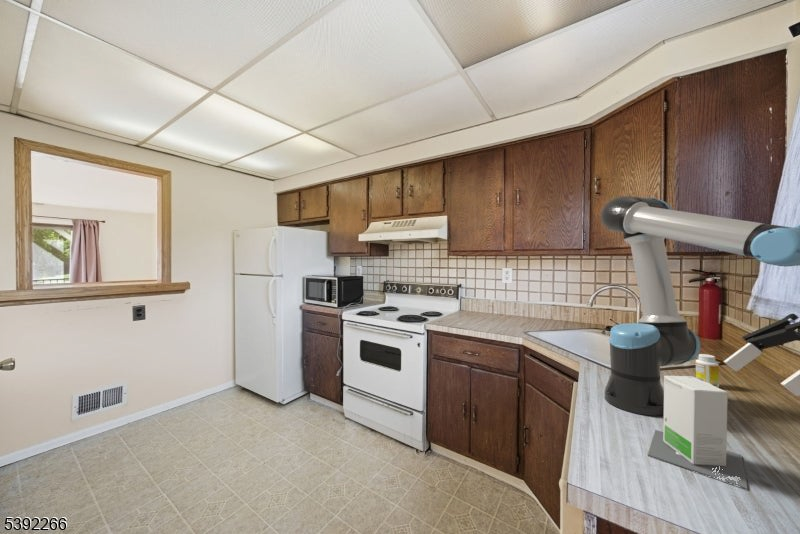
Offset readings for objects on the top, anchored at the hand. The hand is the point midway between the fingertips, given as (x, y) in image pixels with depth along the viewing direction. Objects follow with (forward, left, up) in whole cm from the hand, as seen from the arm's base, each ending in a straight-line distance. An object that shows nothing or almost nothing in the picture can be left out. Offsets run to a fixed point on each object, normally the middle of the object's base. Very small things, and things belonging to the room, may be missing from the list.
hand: (756, 377), depth 60 cm
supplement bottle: (-7, +52, -18) cm, 55 cm away
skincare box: (-9, -5, -18) cm, 21 cm away
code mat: (-9, -5, -18) cm, 21 cm away
